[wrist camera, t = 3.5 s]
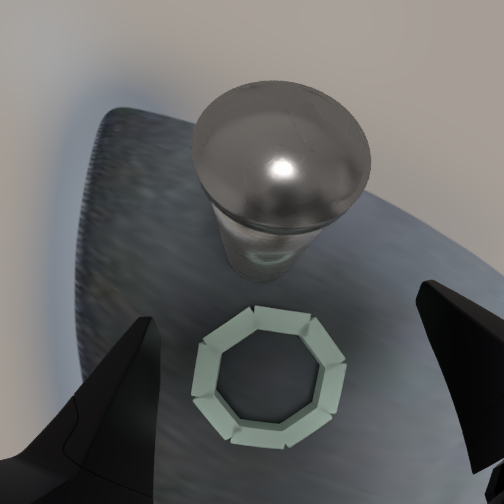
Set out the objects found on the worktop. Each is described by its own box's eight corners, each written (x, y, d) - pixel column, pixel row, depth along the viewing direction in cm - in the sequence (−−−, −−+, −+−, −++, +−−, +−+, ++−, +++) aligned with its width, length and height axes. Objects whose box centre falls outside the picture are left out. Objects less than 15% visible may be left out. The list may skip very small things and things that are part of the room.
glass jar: (311, 257, 20) (401, 168, 7) (251, 300, 19) (264, 268, 7) (268, 200, 21) (294, 65, 8) (209, 239, 20) (160, 125, 8)
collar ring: (359, 385, 18) (367, 390, 16) (251, 459, 16) (252, 468, 15) (285, 281, 20) (288, 278, 18) (170, 359, 18) (165, 362, 17)
